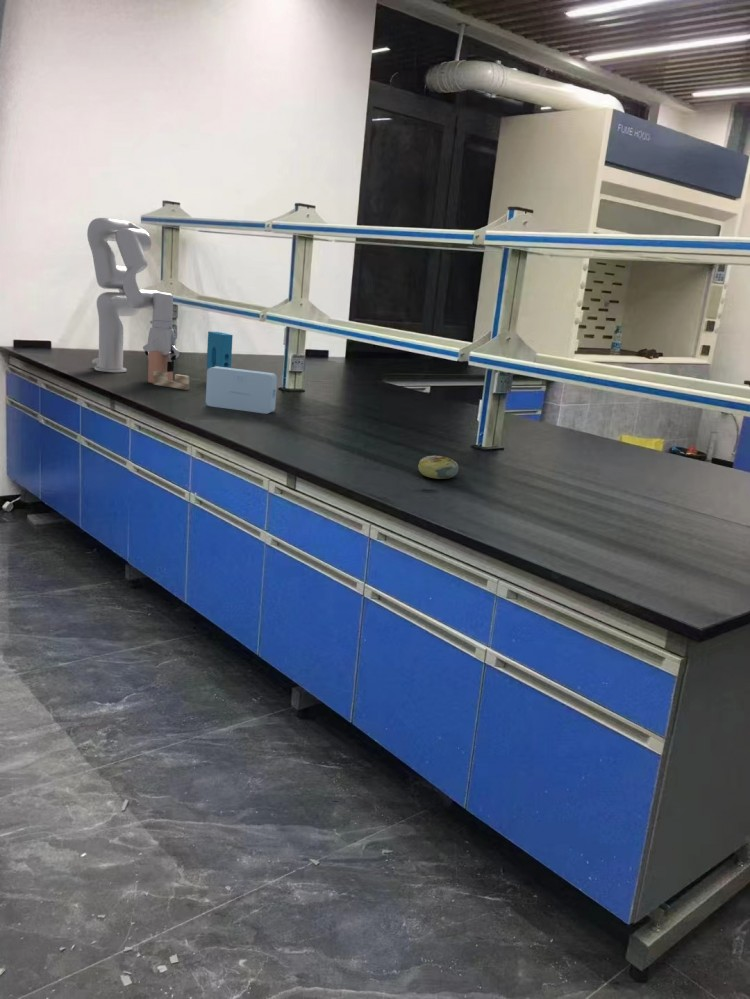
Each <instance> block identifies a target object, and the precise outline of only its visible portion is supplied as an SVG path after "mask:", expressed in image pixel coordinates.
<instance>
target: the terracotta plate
mask: <svg viewBox="0 0 750 999" xmlns="http://www.w3.org/2000/svg"><path fill="white" fill-rule="evenodd" d="M174 355H175V353H174V354H173V356H174ZM167 362H169V360H168V358H167V356H166V355H161V354H160V352H159V351H149V359H148V365H147V366H148V367H147V368H148V370H147V371H148V372H147V375H148V376H147V379H148V380H147V383H151V384H153V371H160V372H166V373H168V380H170V381H174V371H173V372H167Z"/></svg>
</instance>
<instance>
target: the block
mask: <svg viewBox="0 0 750 999" xmlns="http://www.w3.org/2000/svg"><path fill="white" fill-rule="evenodd" d="M232 352H233V334H230V333H225V332H220V331H211V330H209V331H208V332H207V349H206V371H207V370H208V369H209V368H211V367H216V366H218V367H226V368H232Z"/></svg>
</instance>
